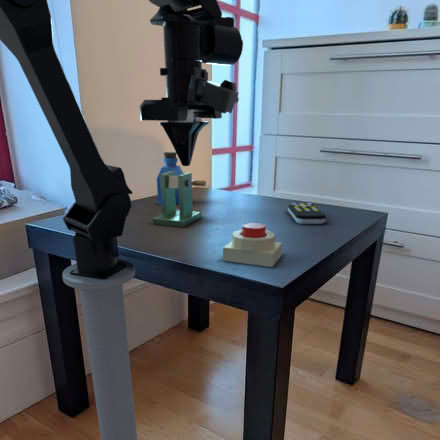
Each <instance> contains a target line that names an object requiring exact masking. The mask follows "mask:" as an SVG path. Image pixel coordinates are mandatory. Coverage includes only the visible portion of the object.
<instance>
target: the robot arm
mask: <svg viewBox="0 0 440 440" xmlns="http://www.w3.org/2000/svg"><path fill="white" fill-rule="evenodd" d="M148 2H150V3H151V4H152V5H154V6H157V7H159V8H158V10H157V12H156V13H155V14H154V15H153V16H152V17H151V18H150V20H149V23H150V24H151V25H153V26H160V27H162V28H163V29H162V31H163V52H164V67H159V76H160V77H165V97H160V99H143V101H142V103H141V104H140V105H139V118H140V120H139V121H159V126H161V127H162V128H163V130H164V132H165V134H166V135H167V137H168V139H169V142H170V143H171V145H172V147H173V149H174V152H176V153H177V154H176V156H177V158H178V159H179V161H180V164H181V165H182V166H183V167H190V166H191V162H192V159H193V155H194V151H195V146H196V143H197V140H198V136H199V133H200V131H202V129H204V128H205V127H206V126H208V125H209V124H210V121H206V120H203V121H202V119H216V120H217V119H222V118H223V117H222V116H223V114H227V113H229V114H232V113H233V110H234V107H235V104H237V103H238V102H239V101H240V99H239V91H237V83H236V82H233V81H231V80H229V79H228V80H227V79H224V80H223V81H222V82H221V83H220V84H219V83H217V82H213V81H211V80H209V72H208V71H207V69H205V68H203V64H206V65H207V64H208V65H220V66H234V65H236V64H237V63H238V61H239V60H240V58H241V56H242V53H243V48H244V41H243V38H242V34H241V32H240V30H239V28H237V27H236V26H235V18H234V17H233V16H225V17H223V12H222V10H221V8H220V5H219V3H218V0H148ZM192 8H193V9H192ZM188 9H189V10H188ZM52 19H53V18H52V15H51V10H50V7H49V2H48V0H0V41H1V43H2V44H3V45H4V46H5V47H6V48H7V50H9V52H10V53H11V54H12V55H13V56H14V58H15V59H16V60H17V62H18V63H19V65H20V68H21V69H22V72H23V74H24V75H25V77H26V80H27V82H28V84H29V86H30V88H31V90H32V92H33V94H34V96H35V99H36V101H37V103H38V104H39V107H40V109H41V111H42V113H43V115H44V117H45V119H46V121H47V123H48V126H49V127H50V129H51V132H52V134H53V135H54V137H55V140H56V142H57V144H58V146H59V148H60V150H61V152H62V154H63V157H64V158H65V160H66V162H67V165H68V168H69V172H70V188H71V191H72V195H73V197H74V200H75V201H74V202H73V203H72V205H71V206H70V207H69V209H68V210H67V211H66V212H65V214H64V216H63V217H62V220H63V222H64V225H65V226H66V228H67V230H69V231H72V232H74V236H72V241H73V247H74V254H75V255H74V256H75V262H76V263H77V268H75V269H73V270H71V271H70V274H71V275H76V276H82V277H88V278H94V279H101V280H105V279H107V278H109V277H110V276H112V275H114V274H115V273H117V272H119V271H121V270H122V269H124V268H126V267H127V264H126V263H120V262H118V261H119V260H120V257H119V256H120V255H119V245H118V237H122V236H123V232H124V228H125V224H126V219H127V217H128V216H129V213H130V211H131V208H132V199H131V196H130V195H133V191H132V190H131V188H129V186H128V184H127V181H126V178H125V173H124V171H123V169H122V168H121V167H119V166H115V165H114V166H113V165H109V164H107V163H106V162H105V161H104V159H103V158H102V156H101V153H100V151H99V150H98V147H97V144H96V143H95V141H94V138H93V135H92V133H91V131H90V129H89V126H88V124H87V122H86V119H85V117H84V114H83V112H82V109H81V108H80V105H79V102H78V101H77V98H76V95H75V94H74V92H73V91H74V90H73V89H72V86H71V85H70V82H69V79H68V77H67V75H66V73H65V71H64V68H63V66H62V63H61V61H60V59H59V56H58V54H57V51H56V49H55V45H54V33H53V21H52ZM76 263H75V264H76Z"/></svg>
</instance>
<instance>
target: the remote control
mask: <svg viewBox="0 0 440 440" xmlns="http://www.w3.org/2000/svg"><path fill="white" fill-rule="evenodd" d="M287 211H288V213H289V215H290V216H291V217H292V218H293V220H294V221H295V223H297V224H299V225H323V224H325V222H326V219H327V216H326V214H325V213H323V212H322V211H321V210H320V209H319V208H318V207H317V206H316V205H315V204H313V203H311V202H308V203H301V202H300V203H295V202H291V203H290V204H288V205H287Z"/></svg>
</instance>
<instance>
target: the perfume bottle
mask: <svg viewBox="0 0 440 440" xmlns="http://www.w3.org/2000/svg"><path fill="white" fill-rule="evenodd" d="M163 155H164V157H163V163H164V165H163V166H162V167H161V168H160V170H159V173H158V174H157V177H156V188H157V189H156V190H157V191H156V193H157V205H162V198H161V179H160V174H163V173H166V172H170V171H172V172H174V176H178V175H181V174H184V171H183V169H182V167H181V165H178V164H177V163H178V162H179V161H178V157H177V153H176V151H166V152H163ZM175 203H176V205H177V206H179V189H175Z"/></svg>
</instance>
